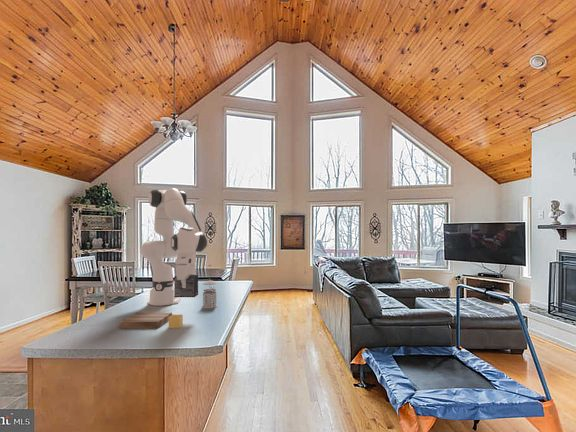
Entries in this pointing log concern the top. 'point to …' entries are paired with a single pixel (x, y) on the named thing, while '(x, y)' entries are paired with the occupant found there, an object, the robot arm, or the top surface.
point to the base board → (145, 320)
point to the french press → (209, 295)
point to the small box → (189, 290)
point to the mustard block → (175, 321)
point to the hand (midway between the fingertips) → (186, 286)
